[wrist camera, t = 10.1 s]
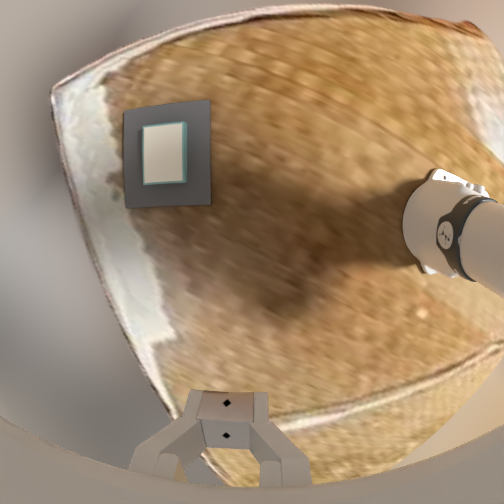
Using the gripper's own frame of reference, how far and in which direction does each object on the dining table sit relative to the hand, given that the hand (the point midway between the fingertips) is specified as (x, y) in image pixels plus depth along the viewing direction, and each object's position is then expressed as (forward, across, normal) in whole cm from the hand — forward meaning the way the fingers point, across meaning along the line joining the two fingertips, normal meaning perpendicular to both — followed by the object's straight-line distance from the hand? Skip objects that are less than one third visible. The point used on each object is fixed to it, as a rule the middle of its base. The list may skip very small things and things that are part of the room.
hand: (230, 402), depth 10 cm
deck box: (+33, +9, -12) cm, 36 cm away
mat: (+34, +13, -12) cm, 38 cm away
